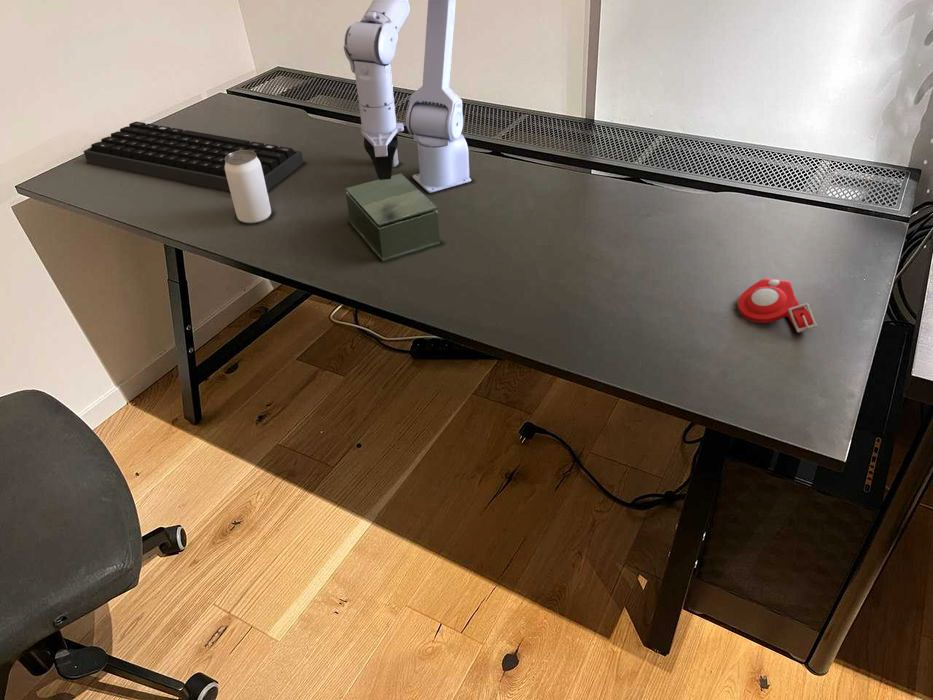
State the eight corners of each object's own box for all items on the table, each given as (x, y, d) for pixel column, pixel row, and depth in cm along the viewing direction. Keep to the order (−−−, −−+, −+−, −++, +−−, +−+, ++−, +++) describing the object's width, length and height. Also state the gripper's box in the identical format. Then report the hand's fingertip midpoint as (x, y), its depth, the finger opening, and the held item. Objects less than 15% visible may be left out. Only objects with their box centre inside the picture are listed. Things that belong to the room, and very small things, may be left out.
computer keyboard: (303, 163, 161) (300, 146, 159) (258, 197, 150) (254, 179, 148) (139, 133, 176) (134, 117, 174) (87, 162, 165) (81, 146, 163)
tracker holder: (727, 311, 114) (750, 267, 119) (731, 332, 117) (753, 288, 122) (812, 323, 107) (833, 275, 112) (814, 345, 110) (834, 297, 115)
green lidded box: (350, 223, 141) (345, 188, 136) (404, 208, 145) (401, 173, 140) (382, 261, 130) (378, 224, 126) (440, 244, 134) (437, 207, 130)
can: (263, 225, 141) (249, 165, 134) (231, 223, 143) (215, 163, 135) (277, 208, 146) (264, 149, 139) (245, 206, 147) (231, 147, 140)
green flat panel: (345, 190, 136) (345, 188, 136) (401, 175, 140) (400, 173, 140) (361, 207, 131) (361, 205, 131) (418, 191, 135) (418, 189, 135)
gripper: (403, 116, 118) (410, 195, 127) (399, 82, 129) (405, 157, 138) (357, 120, 118) (367, 199, 126) (357, 86, 129) (366, 160, 137)
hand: (384, 177), depth 132 cm, fingers closed
